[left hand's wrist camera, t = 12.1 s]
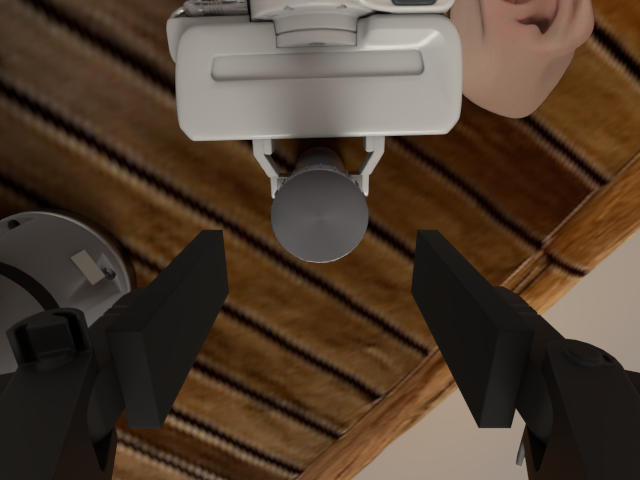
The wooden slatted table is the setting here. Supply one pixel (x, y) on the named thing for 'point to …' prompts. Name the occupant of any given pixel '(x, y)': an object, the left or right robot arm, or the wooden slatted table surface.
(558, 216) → the wooden slatted table surface
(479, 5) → the anatomical model
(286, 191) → the lid
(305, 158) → the jar
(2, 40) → the wooden slatted table surface
